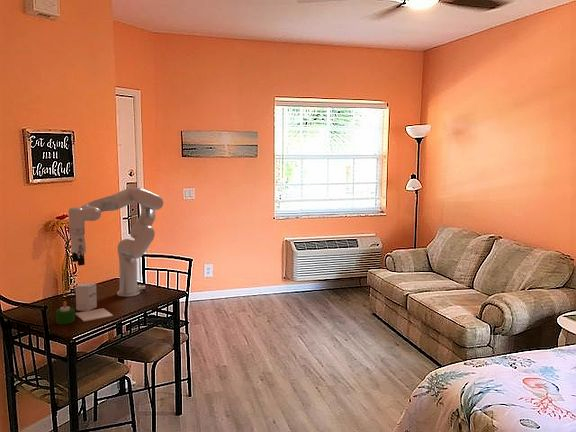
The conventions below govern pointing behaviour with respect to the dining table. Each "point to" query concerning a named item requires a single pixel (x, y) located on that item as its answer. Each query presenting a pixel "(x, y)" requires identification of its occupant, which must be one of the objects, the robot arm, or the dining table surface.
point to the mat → (93, 314)
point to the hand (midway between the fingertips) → (78, 263)
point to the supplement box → (86, 297)
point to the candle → (65, 314)
